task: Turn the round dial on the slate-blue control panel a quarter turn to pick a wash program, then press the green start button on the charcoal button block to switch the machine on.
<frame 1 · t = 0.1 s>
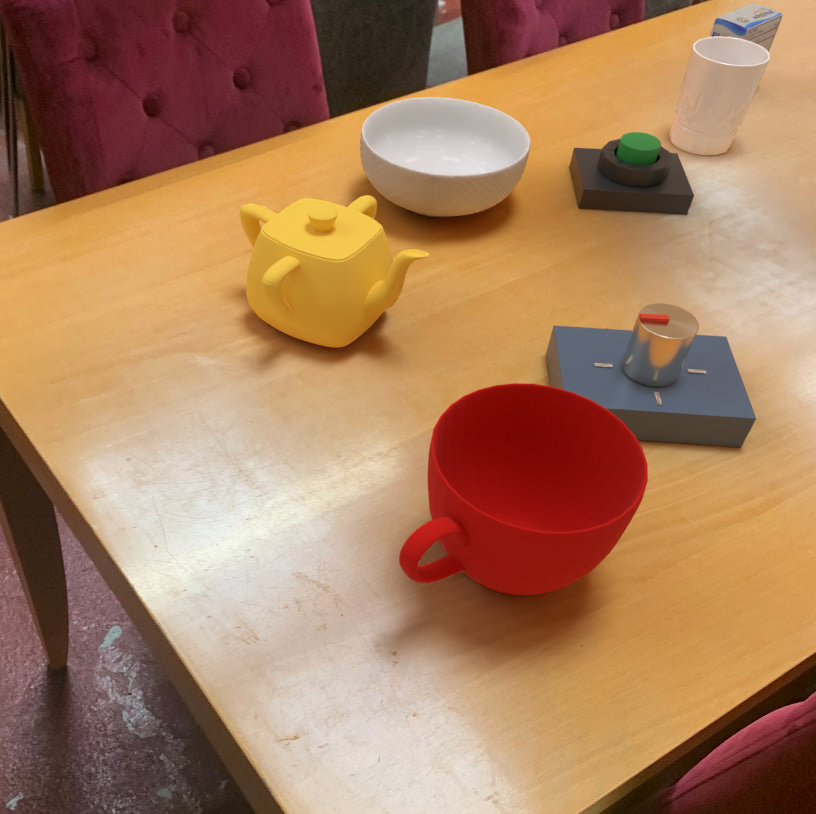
start button: (638, 149, 91), point 4 cm above the table, slide at 0.1 cm
cereal bowl: (437, 200, 93), on the table
teapot: (325, 320, 79), on the table
medicine box: (722, 90, 112), on the table
white cup: (698, 144, 102), on the table
program dial: (659, 343, 68), point 5 cm above the table, hinge at 0.0°
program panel: (638, 398, 72), on the table
button block: (626, 190, 94), on the table
ceramic cup: (487, 571, 60), on the table
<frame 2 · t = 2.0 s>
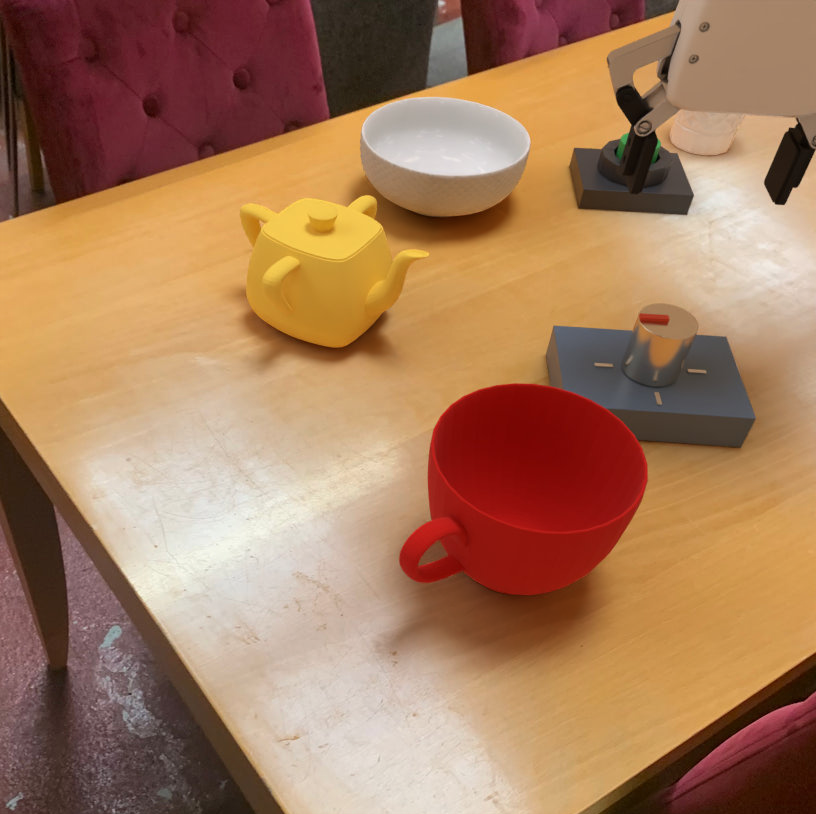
hand: (702, 189, 62), 16 cm above the table, tool pointing down, fingers open, 9 cm apart
nothing on the table moved.
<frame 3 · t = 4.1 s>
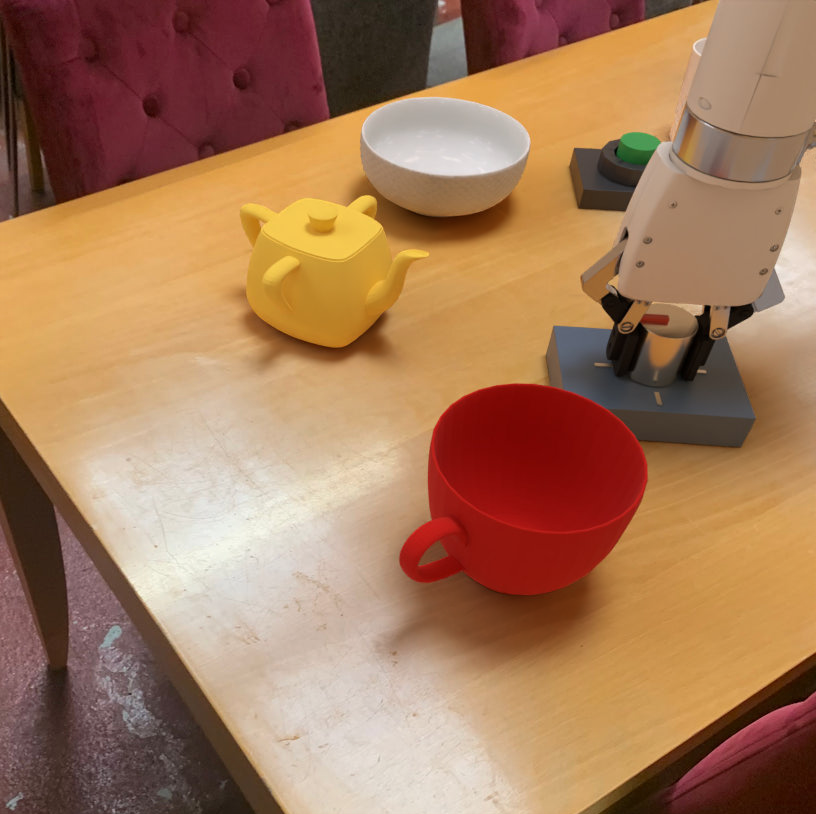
hand: (651, 365, 70), 3 cm above the table, tool pointing down, fingers closed on program dial, 4 cm apart
program dial: (659, 343, 68), point 5 cm above the table, hinge at -0.1°, touching gripper
everything else where it was.
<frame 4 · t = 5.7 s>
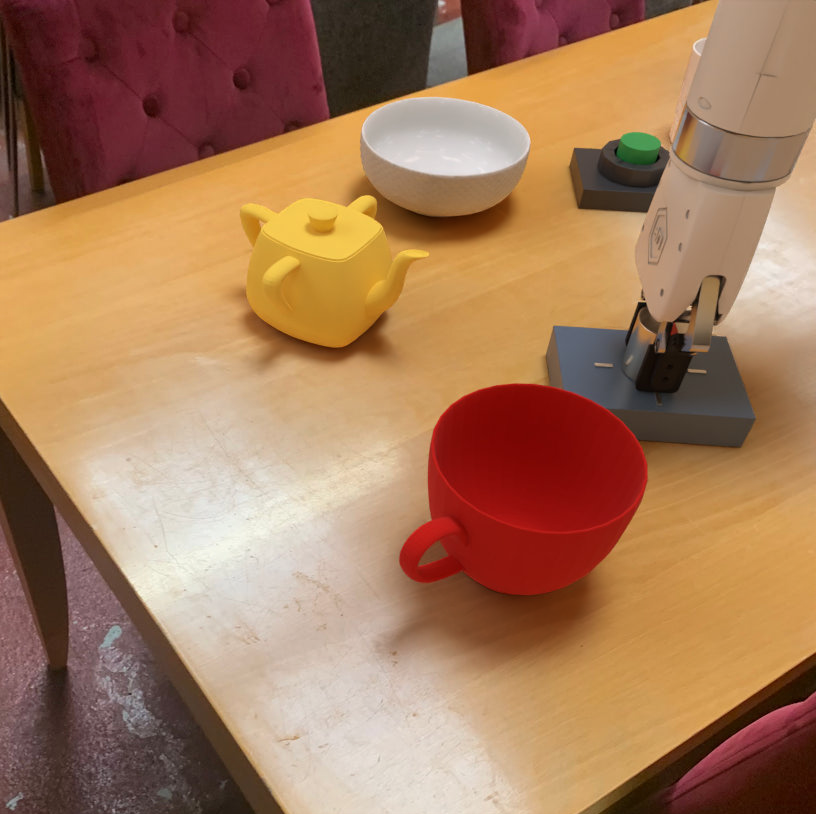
hand: (650, 365, 70), 3 cm above the table, tool pointing down, fingers closed on program dial, 4 cm apart
program dial: (659, 343, 68), point 5 cm above the table, hinge at 90.4°, touching gripper
everything else where it was.
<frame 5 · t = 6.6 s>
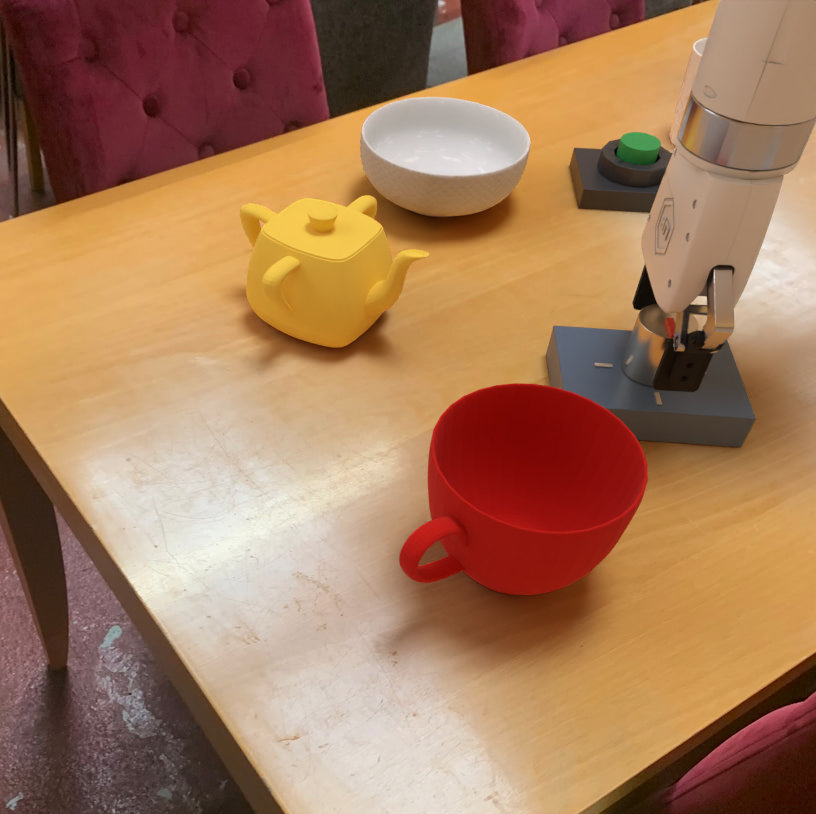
hand: (662, 346, 68), 5 cm above the table, tool pointing down, fingers open, 9 cm apart
program dial: (659, 343, 68), point 5 cm above the table, hinge at 90.6°
everything else where it was.
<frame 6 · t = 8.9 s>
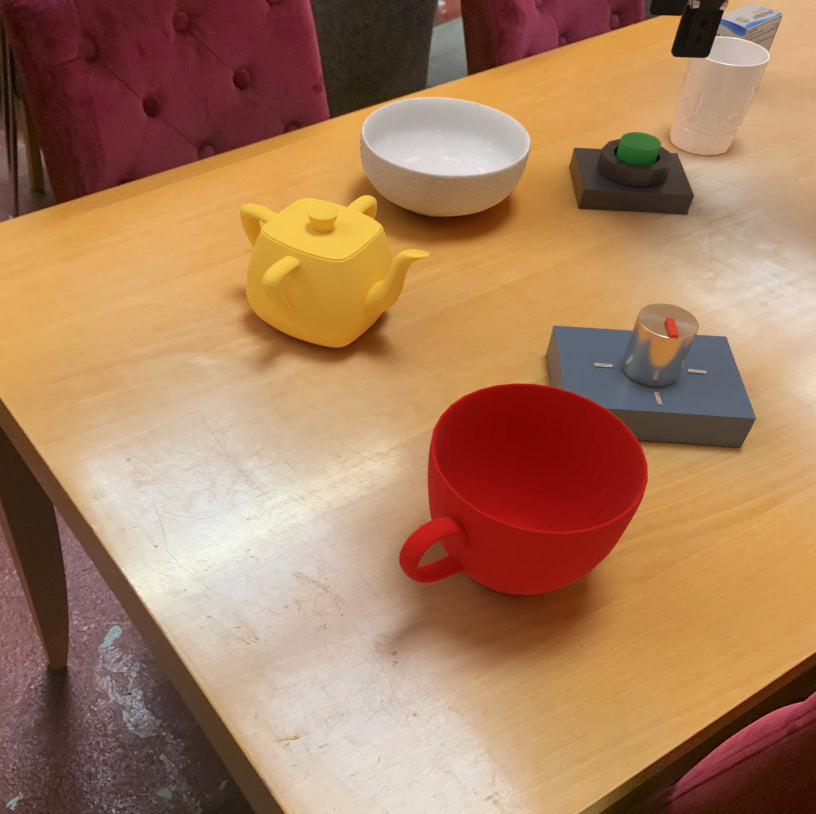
hand: (676, 34, 81), 16 cm above the table, tool pointing down, fingers open, 9 cm apart
nothing on the table moved.
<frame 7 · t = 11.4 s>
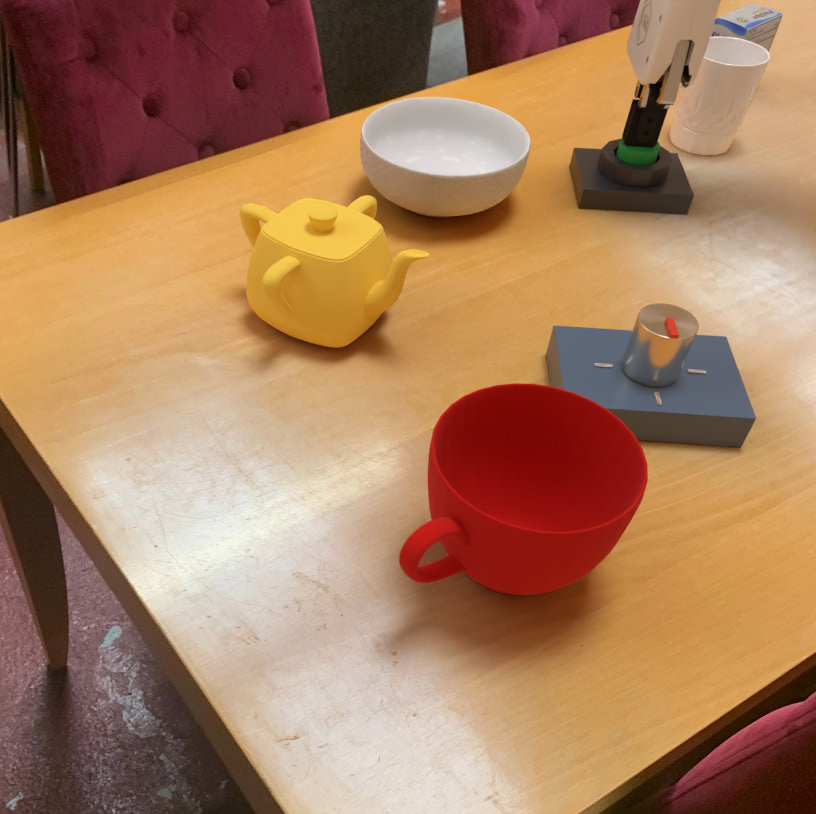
hand: (638, 142, 91), 5 cm above the table, tool pointing down, fingers closed
start button: (637, 151, 91), point 4 cm above the table, slide at -0.2 cm, touching gripper
everything else where it was.
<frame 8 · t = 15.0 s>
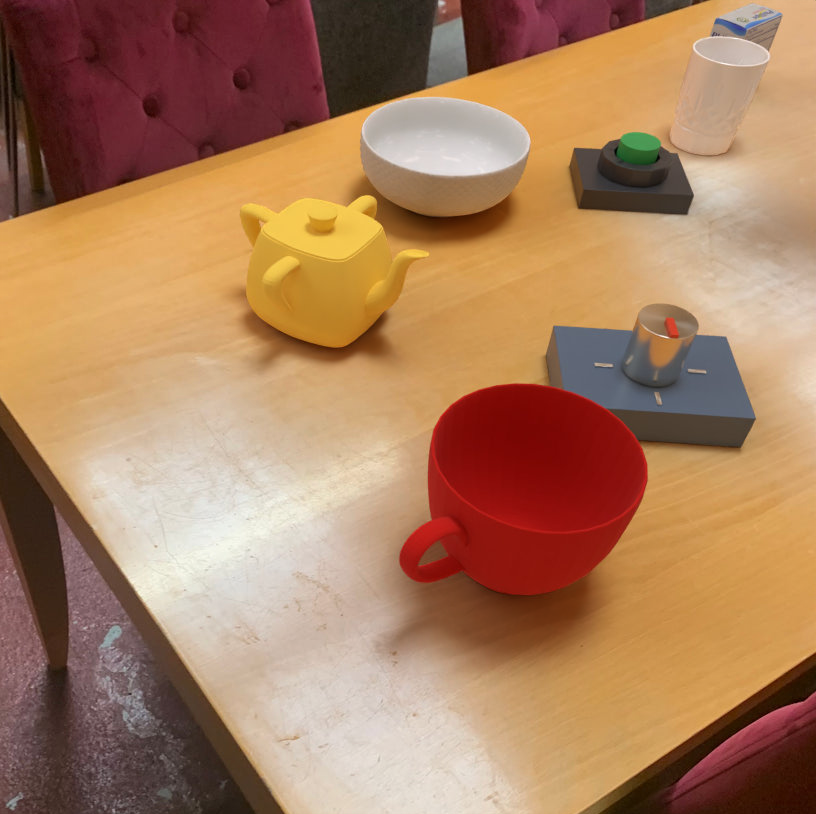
start button: (638, 149, 91), point 4 cm above the table, slide at 0.1 cm
everything else where it was.
at the end: program dial at +91° (first picture: +0°); start button pushed in 1.1 cm at the most during the clip, back to where it started at the end; start button slide at 0.1 cm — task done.
